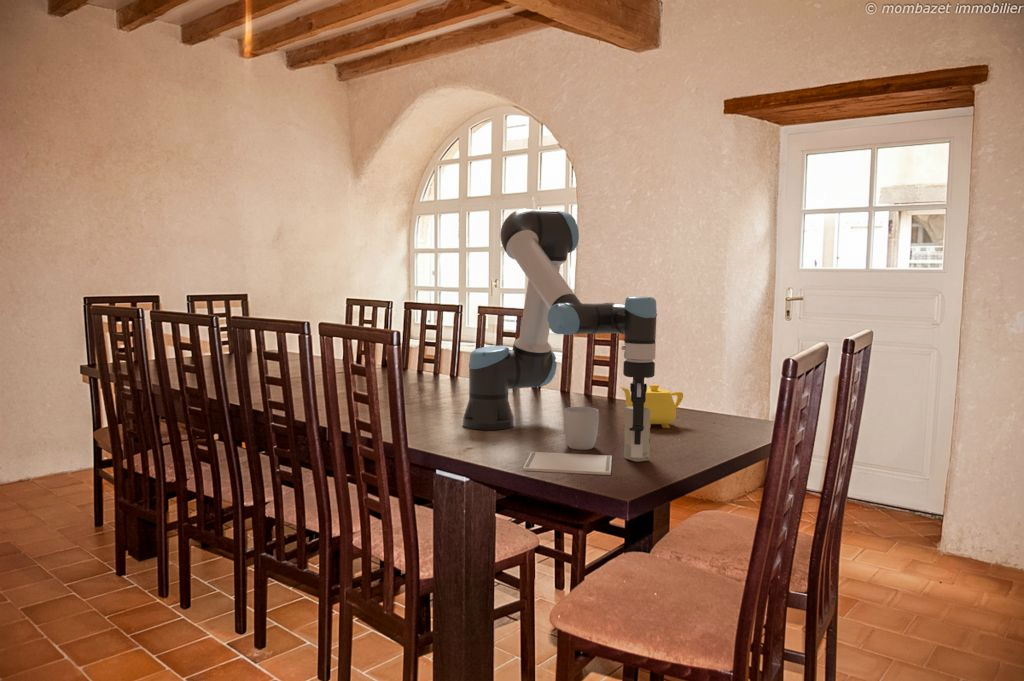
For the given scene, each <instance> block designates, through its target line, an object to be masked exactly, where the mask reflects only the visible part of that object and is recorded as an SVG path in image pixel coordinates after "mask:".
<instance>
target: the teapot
mask: <svg viewBox="0 0 1024 681" xmlns="http://www.w3.org/2000/svg"><path fill="white" fill-rule="evenodd" d="M619 388H620V389H621V390H622V391H623V392H624V396H625V405H626V407H632V404H633V403H632V402H631V391H630V389H629V388H626V387H622V386H619ZM673 396H676V397H677V398H676V400H675V401H674V399H673ZM683 398H684V393H683V391H672V392H670V391H669V390H667V389H664V388H660V385H659V384H655V383H653V384H649V387H647V392H646V401H645V403H644V408H649V409H650V429H652V428H651V427H652V425H661V428H663V429H670V428H671V426H670V424H673V423H674V421H675V419H677V418H676V417H677V408H678V407H679V405H680V404H681V403H682V401H683Z"/></svg>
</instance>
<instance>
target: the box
mask: <svg viewBox="0 0 1024 681" xmlns="http://www.w3.org/2000/svg"><path fill="white" fill-rule="evenodd" d="M636 425H640V424H636ZM632 426H633V406H632V407H627V406H626V407H624V451H623V452H624V454H623V455H624V458H625V459H626V460H630V461H632V462H636V463H638V462H645V461H646V462H647V461H649V460H651V452H650V451H651V450H650V449H651V448H650V447H651V444H650V443H651V442H650V441H651V428H650V409H649V408H644V418H643V426H644V429H643V458H638V457H631V442H632V431H629V428H632Z"/></svg>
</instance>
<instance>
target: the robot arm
mask: <svg viewBox="0 0 1024 681" xmlns="http://www.w3.org/2000/svg"><path fill="white" fill-rule="evenodd" d="M579 235H580V232H579V227H578V223H577V221H576V219H575V218H574V216H573V215H572V214H570V213H569V212H566V211H560V210H556V209H555V210H554V209H553V210H551V209H549V210H548V209H530V208H522V209H518V210H515V211H514V212H511V213H510V214H509V215H508V216H507V217H506V218H505V220H504V221H503V223H502V225H501V227H500V236H499V237H500V242H501V245H502V248H503V250H504V251H505V253H506V255H507V256H508V257H509V258H510V259H512V260H514V261H516V262H517V264H518V266H519V267H520V269H521V270H522V271H523V272H524V274H525V276H526V277H527V279H528V280H527V286H526V291H525V292H526V294H525V299H524V300H525V301H524V304H523V305H524V306H523V310H522V311H523V313H522V319H521V326H520V330H519V331H520V332H519V337H518V338H517V339H515V340H514V341H513V346H512V349H511V350H510V349H509V347H508V346H507V345H494V346H493V345H489V346H483V347H479V348H476V349H473V350H472V351H471V352H470V354H469V361H468V362H469V363H468V368H469V370H468V371H469V372H468V385H469V386H468V402H467V405H466V408H465V411H464V414H463V417H462V425H463V427H465V428H466V429H467V428H468V429H471V430H472V429H473V430H480V431H482V430H483V431H499V430H506V429H510V428H513V427H514V424H515V422H514V421H515V418H514V415H513V411H512V408H511V405H510V402H509V390H511V389H512V390H513V389H514V390H515V389H529V388H533V389H535V388H538V387H545V386H547V385H548V384H550V383H551V382H552V381H553V379H554V377H555V375H556V372H557V363H558V362H557V361H556V360H557V357H556V355H555V353H554V351H553V350H552V346H551V344H550V343H549V342H548V341H549V335H550V331H551V332H552V333H554V334H556V335H566V336H572V335H573V336H574V335H588V334H589V335H590V334H591V335H593V334H599V335H601V334H619V335H624V340H623V342H624V343H623V344H624V345H621V350H622V351H623V358H624V359H625V360H624V361H623V367H622V369H623V370H622V372H623V373H622V374H623V376H625V377H626V378H633V381H632V382H630V384H629V386H630V387H629V388H630V389H629V391H630V395H631V402H632V403H633V404H632V406H633V426H632V428H629V431H632V442H631V457H638V458H643V429H644V426H643V418H644V403H645V401H646V392H647V388H648V385H647V383H645V382H644V379H645V378H646V379H650V378H653V377H654V376H655V375H656V374H655V372H656V371H655V370H656V368H655V367H656V363H655V361H653V360H656V348H657V347H656V345H657V343H656V338H657V337H656V336H657V316H658V313H657V311H658V310H657V300H656V299H655V298H654V297H652V296H627V297H625V302H624V303H616V302H601V303H582V302H581V301H580V300H579V298H578V296H576V294H575V292H573V290H572V288H571V287H570V286H569V284H568V283H567V282H566V280H565V279H564V277H563V276H562V274H561V273H560V269H561V265H562V264H564V263H565V262H567V259H568V254H569V253H572V252H574V251H575V250H576V249H577V247H578V244H579V238H580V236H579ZM636 424H640V425H636Z"/></svg>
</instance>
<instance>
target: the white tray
mask: <svg viewBox="0 0 1024 681" xmlns="http://www.w3.org/2000/svg"><path fill="white" fill-rule="evenodd" d="M612 458H613V456H612V455H608V454H607V455H603V454H583V453H564V452H561V453H560V452H543V451H541V452H540V451H531V452H530V454H529V456H528V458H527V460H526V462H525V463H524V466H523V467H522V471H525V472H528V471H529V472H544V473H545V472H547V473H549V472H550V473H564V474H565V473H566V474H581V475H583V474H584V475H585V474H586V475H601V476H611V473H612V461H613V459H612Z"/></svg>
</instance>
